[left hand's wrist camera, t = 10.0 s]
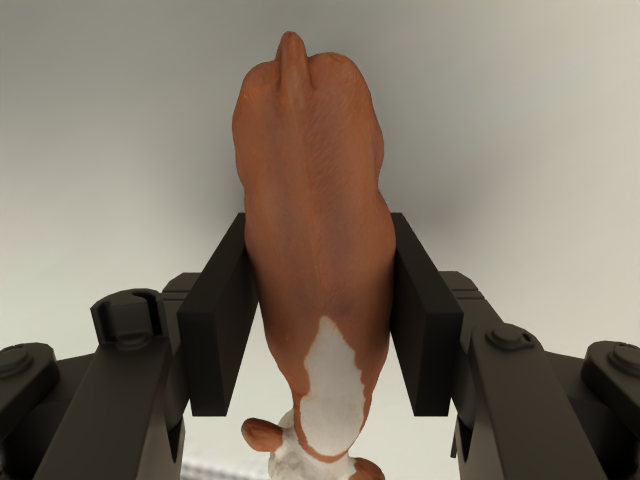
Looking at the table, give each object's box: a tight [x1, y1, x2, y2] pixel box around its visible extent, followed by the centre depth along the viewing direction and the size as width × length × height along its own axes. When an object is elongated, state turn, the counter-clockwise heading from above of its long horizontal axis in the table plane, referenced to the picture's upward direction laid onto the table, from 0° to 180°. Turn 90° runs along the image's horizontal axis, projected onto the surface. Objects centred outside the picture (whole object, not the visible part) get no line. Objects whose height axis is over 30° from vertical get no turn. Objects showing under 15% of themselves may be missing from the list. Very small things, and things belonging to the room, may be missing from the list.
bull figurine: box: [232, 31, 396, 480], centre depth 13 cm, size 4×13×8 cm, turn 0°
